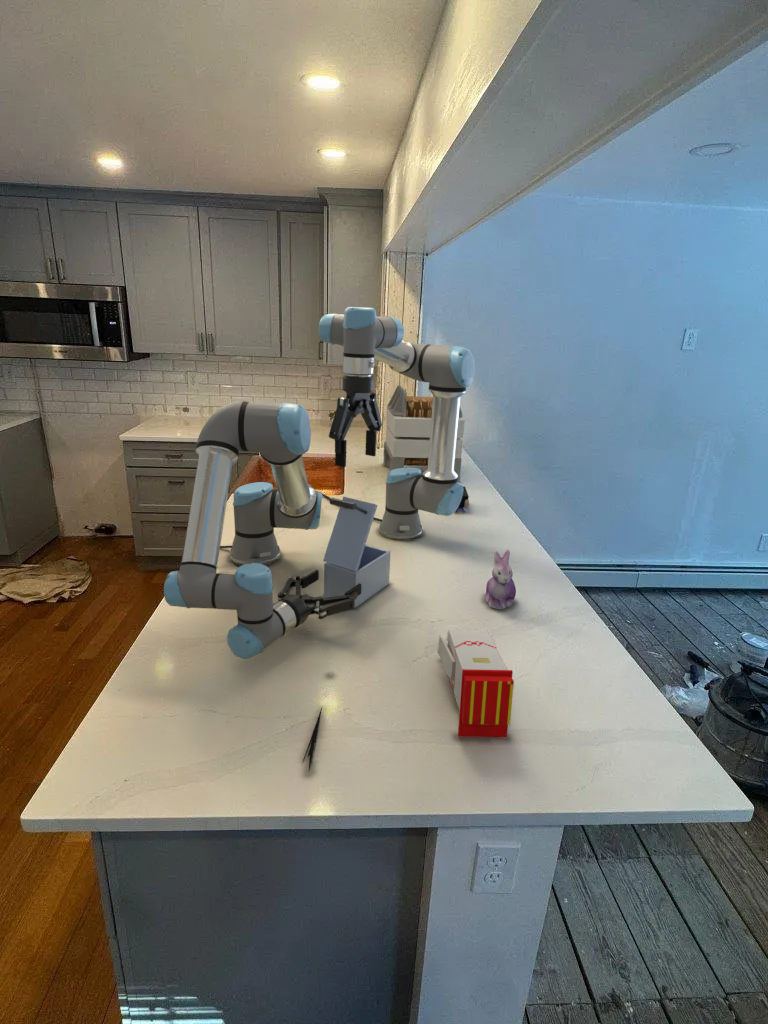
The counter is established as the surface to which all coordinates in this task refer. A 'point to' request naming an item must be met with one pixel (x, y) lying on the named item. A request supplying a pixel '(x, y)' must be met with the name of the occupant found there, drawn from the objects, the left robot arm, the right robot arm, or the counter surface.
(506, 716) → the toy
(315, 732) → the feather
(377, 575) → the chest
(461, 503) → the figurine character
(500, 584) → the figurine
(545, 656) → the counter surface
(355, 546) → the lid
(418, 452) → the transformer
